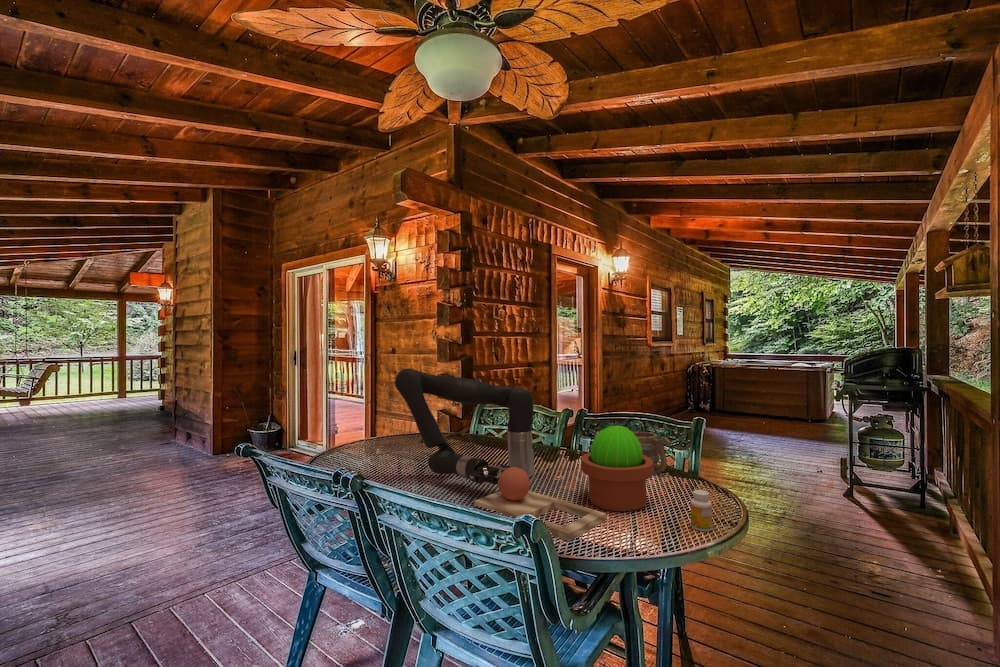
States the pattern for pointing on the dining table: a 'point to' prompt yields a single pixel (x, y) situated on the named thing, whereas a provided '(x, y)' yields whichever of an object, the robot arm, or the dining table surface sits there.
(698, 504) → the supplement bottle
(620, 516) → the dining table surface
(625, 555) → the dining table surface
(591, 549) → the dining table surface
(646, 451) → the tankard
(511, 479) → the ball
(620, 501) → the potted cactus
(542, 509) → the board
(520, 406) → the robot arm
